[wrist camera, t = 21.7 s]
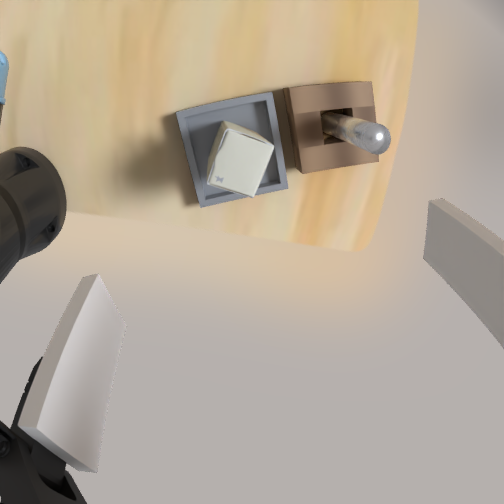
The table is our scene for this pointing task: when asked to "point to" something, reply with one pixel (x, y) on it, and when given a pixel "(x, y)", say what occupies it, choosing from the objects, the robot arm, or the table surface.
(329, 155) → the brown block with hole
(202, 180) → the tray
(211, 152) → the box
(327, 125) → the pin
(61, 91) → the table surface
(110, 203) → the table surface
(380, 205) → the table surface
